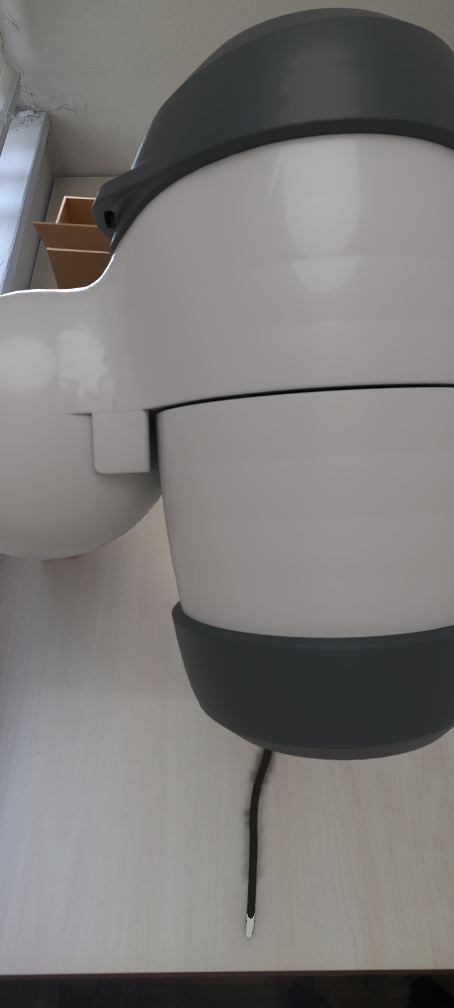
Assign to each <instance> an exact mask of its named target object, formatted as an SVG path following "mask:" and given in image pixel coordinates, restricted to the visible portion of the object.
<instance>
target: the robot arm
mask: <svg viewBox="0 0 454 1008" xmlns="http://www.w3.org/2000/svg"><path fill="white" fill-rule="evenodd" d="M154 115H155V116H154V117H153V118H152V120H151V122H150V124H149V126H148V127H147V131H146V133H145V134H144V137H143V139H142V141H141V144H140V146H139V148H138V151H137V153H136V155H135V158H134V160H133V163H132V165H131V168H130V169H129V170H127V171H125V172H123V173H121V174H119V175H117V176H115V177H113V178H111V179H109V180H107V181H105V182H104V183H103V184H101V186H100V187H99V188H98V191H97V193H96V196H95V197H94V198H95V201H94V203H93V206H92V210H91V211H92V215H93V219H94V222H95V223H96V225H97V227H98V228H99V230H100V231H101V232H102V233H103V234H104V235H105V236H106V237H107V238H109V239H110V240H111V241H112V242H111V245H110V248H109V254H110V257H111V258H112V259H111V261H110V263H109V265H108V267H107V269H106V270H105V272H104V273H103V274H102V276H101V277H100V278H99V279H98V280H97V281H96V282H94V283H93V284H91V285H89V286H87V287H84V288H76V289H68V290H59V289H40V288H37V289H26V290H16V291H12V292H7V293H3V294H0V554H1V555H5V556H11V557H15V558H18V559H19V558H20V559H28V560H37V561H38V560H41V561H42V560H43V561H44V560H61V559H65V558H73V557H77V556H80V555H83V554H87V553H91V552H92V551H95V550H97V549H99V548H102V547H104V546H106V545H109V544H111V543H113V541H116V540H117V539H119V538H121V537H123V536H124V535H125V534H127V533H128V532H129V531H130V530H131V529H133V528H134V527H135V526H137V525H138V524H139V523H140V522H141V520H143V519H144V518H145V517H146V515H147V514H148V513H150V511H151V510H152V509H153V507H154V506H155V505H156V504H157V502H158V501H159V500H160V498H161V499H162V507H163V515H164V521H165V528H166V533H167V539H168V546H169V551H170V552H169V553H170V558H171V563H172V569H173V573H174V578H175V583H176V588H177V593H178V598H179V601H178V602H176V603H175V604H174V605H173V607H172V609H171V618H172V623H173V627H174V631H175V632H174V633H175V636H176V642H177V645H178V649H179V652H180V656H181V659H182V663H183V667H184V670H185V674H186V676H187V679H188V682H189V684H190V687H191V690H192V691H193V694H194V696H195V699H196V701H197V703H198V705H199V706H200V708H201V710H202V711H203V712H204V713H205V714H206V715H207V716H208V717H209V718H210V719H211V720H212V721H214V722H215V723H217V724H218V725H220V726H221V727H223V728H225V729H227V730H228V731H230V732H231V733H233V734H234V735H236V736H238V737H240V738H241V739H243V740H244V741H246V742H248V743H250V744H253V745H255V746H257V747H260V748H262V749H264V751H263V755H262V758H261V761H260V764H259V767H258V770H257V773H256V775H255V779H254V783H253V785H252V786H253V787H252V791H251V796H250V805H249V816H248V817H249V822H248V823H249V824H248V825H249V826H248V828H249V829H248V830H249V834H248V835H249V850H248V853H249V854H248V873H247V874H248V878H247V879H248V880H247V898H246V899H247V901H246V915H247V914H248V917H249V918H250V919H251V918H253V916H254V913H255V914H256V906H255V905H256V903H257V880H258V847H259V845H258V844H259V843H258V837H259V836H258V835H259V834H258V811H259V802H260V801H259V800H260V796H261V791H262V786H263V782H264V779H265V776H266V772H267V771H268V768H269V764H270V762H271V757H272V754H273V752H275V753H279V754H283V755H287V756H292V757H298V758H305V759H312V760H313V759H315V760H323V761H324V760H325V761H361V760H362V761H364V760H365V761H366V760H374V759H382V758H383V759H384V758H388V757H393V756H399V755H403V754H406V753H410V752H414V751H416V750H419V749H423V748H424V747H426V746H429V745H432V744H433V743H434V742H437V741H438V740H439V739H441V738H442V737H443V736H445V735H446V734H447V733H448V732H449V731H451V730H452V729H453V728H454V50H453V48H451V45H449V44H447V42H446V41H444V40H443V38H441V37H440V36H438V35H437V34H435V33H434V32H432V31H430V30H428V29H427V28H424V27H422V26H419V25H417V24H414V23H412V22H409V21H405V20H403V19H400V18H397V17H394V16H391V15H388V14H385V13H383V12H382V13H381V12H377V11H374V10H369V9H362V8H353V7H321V8H313V9H307V10H305V9H304V10H299V11H295V12H290V13H286V14H281V15H279V16H276V17H272V18H269V19H267V20H264V21H261V22H260V23H256V24H255V25H253V26H250V27H248V28H246V29H244V30H242V31H240V32H239V33H237V34H236V35H234V36H233V37H231V38H229V39H227V40H226V41H225V42H223V44H221V45H220V46H219V47H218V48H217V49H215V50H214V51H213V52H212V53H211V54H210V55H209V56H208V57H207V58H206V59H205V60H204V61H203V62H202V63H200V65H199V66H198V67H197V68H196V69H195V70H194V71H193V72H192V73H191V74H190V75H189V76H188V77H187V78H186V79H185V80H184V81H183V82H182V83H181V84H180V85H179V86H178V88H177V89H176V90H174V92H173V93H172V94H171V95H170V96H169V97H168V98H167V99H166V101H165V102H163V104H162V105H161V106H160V108H159V109H158V111H157V112H156V113H155V114H154ZM255 921H256V920H254V922H255ZM246 922H247V920H246V919H245V923H246Z"/></svg>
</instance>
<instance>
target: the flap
mask: <svg viewBox="0 0 454 1008" xmlns="http://www.w3.org/2000/svg"><path fill="white" fill-rule="evenodd" d="M32 225H33V227H34V229H35V231H36V232H37V235H38V236H39V238H40V239H41V242H42V243H43V245H44V247H45V248H47V247H50V248H65V249H81V250H97V251H109V248H110V245H111V242H112V241H111V240H110V239H109V238H107V237H106V236H105V235H104V234H103V233H102V232H101V231H100V230H99V228H98V227H97V226H96V225H80V224H64V223H56V222H47V221H32Z"/></svg>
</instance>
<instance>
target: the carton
mask: <svg viewBox="0 0 454 1008" xmlns="http://www.w3.org/2000/svg"><path fill="white" fill-rule="evenodd" d="M95 198H96V197H86V196H85V197H83V196H68V195H64V196H63V199H62V202H61V205H60V208H59V211H58V214H57V217H56V220H55V223H64V224H80V225H96V223H95V222H94V219H93V215H92V211H91V210H92V206H93V203H94V201H95ZM96 226H97V225H96ZM46 252H47V255H48V259H49V262H50V266H51V268H52V269H51V270H52V273H53V276H54V278H55V283H56V286H57V290H68V289H76V288H84V287H87V286H89V285H91V284H93V283H94V282H96V281H97V280H98V279H99V278H100V277H101V276H102V274H103V273H104V272H105V270H106V269H107V267H108V265H109V263H110V261H111V259H112V258H111V257H110V254H109V251H97V250H81V249H65V248H50V247H46Z"/></svg>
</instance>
